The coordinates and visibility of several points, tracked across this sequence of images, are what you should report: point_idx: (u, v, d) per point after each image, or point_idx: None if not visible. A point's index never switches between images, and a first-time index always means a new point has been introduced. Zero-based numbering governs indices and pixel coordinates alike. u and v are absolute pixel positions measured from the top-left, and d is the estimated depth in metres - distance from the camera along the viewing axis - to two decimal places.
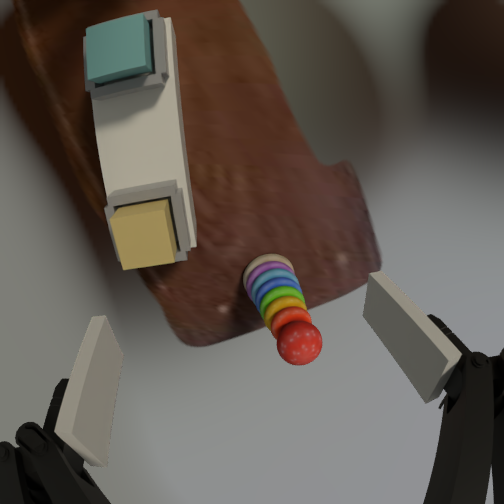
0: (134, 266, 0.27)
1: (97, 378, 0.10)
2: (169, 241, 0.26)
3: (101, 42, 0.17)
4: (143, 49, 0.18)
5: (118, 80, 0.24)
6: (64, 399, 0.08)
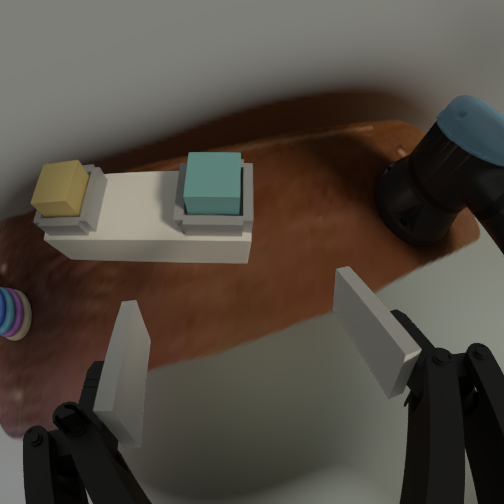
0: (41, 173, 0.26)
1: (131, 359, 0.11)
2: (44, 202, 0.25)
3: (220, 163, 0.28)
4: (199, 195, 0.26)
5: None
6: (101, 379, 0.09)
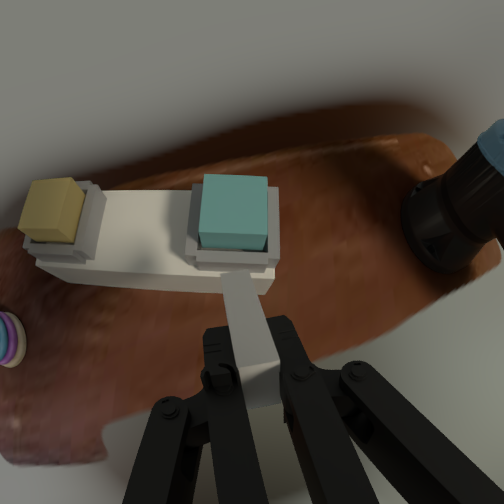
0: (30, 191, 0.22)
1: None
2: (33, 227, 0.21)
3: (242, 189, 0.24)
4: (218, 231, 0.22)
5: None
6: (233, 339, 0.11)
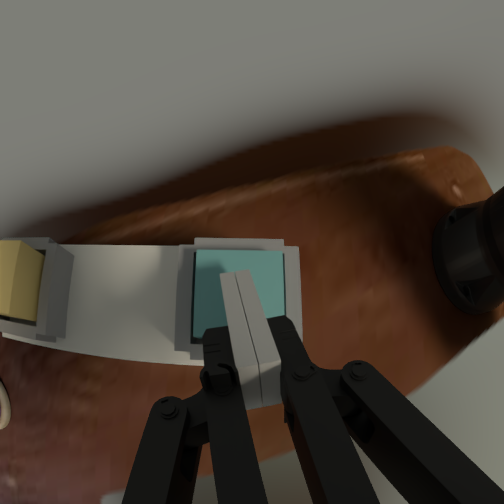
0: None
1: None
2: None
3: None
4: None
5: None
6: (232, 339, 0.11)
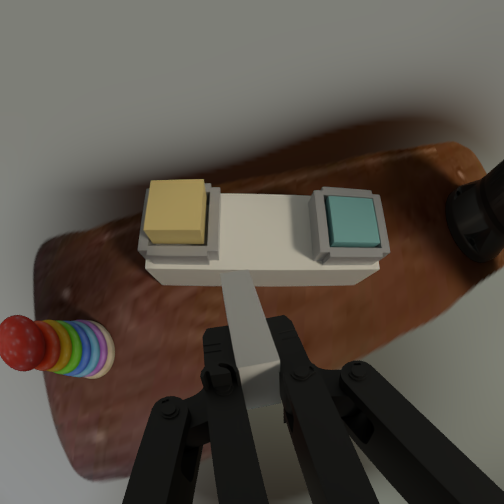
0: (151, 191, 0.27)
1: None
2: (166, 229, 0.25)
3: (358, 208, 0.30)
4: (348, 241, 0.29)
5: None
6: (233, 339, 0.11)
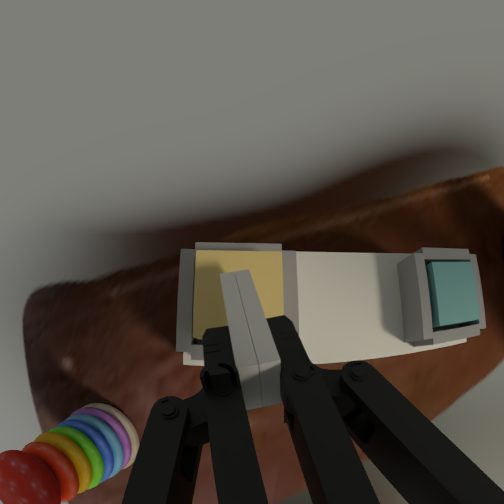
0: (198, 269, 0.17)
1: None
2: None
3: (460, 277, 0.20)
4: (452, 322, 0.19)
5: None
6: (233, 339, 0.11)
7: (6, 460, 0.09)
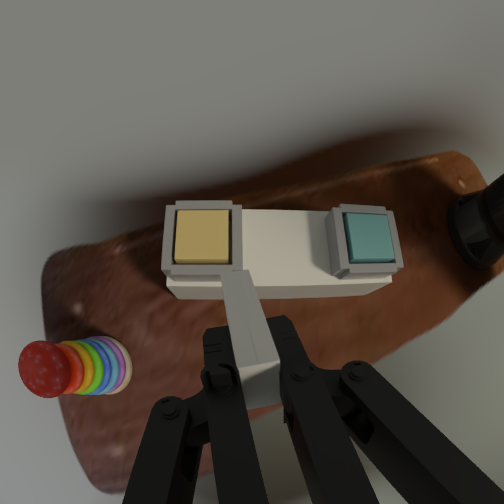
0: (178, 221, 0.29)
1: None
2: (196, 258, 0.28)
3: (374, 225, 0.31)
4: (366, 257, 0.30)
5: None
6: (233, 339, 0.11)
7: (35, 343, 0.18)
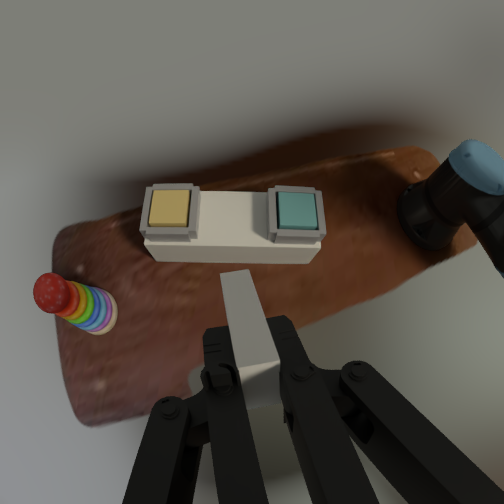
0: (153, 197, 0.40)
1: None
2: (163, 222, 0.39)
3: (301, 201, 0.41)
4: (291, 224, 0.40)
5: None
6: (233, 339, 0.11)
7: (47, 273, 0.30)
